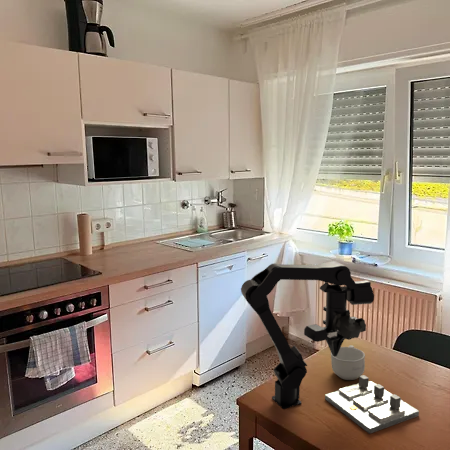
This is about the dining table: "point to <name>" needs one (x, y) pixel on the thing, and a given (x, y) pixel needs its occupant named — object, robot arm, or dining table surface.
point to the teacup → (348, 363)
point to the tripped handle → (378, 391)
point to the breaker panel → (370, 407)
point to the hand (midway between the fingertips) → (334, 355)
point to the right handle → (395, 401)
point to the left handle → (363, 381)
